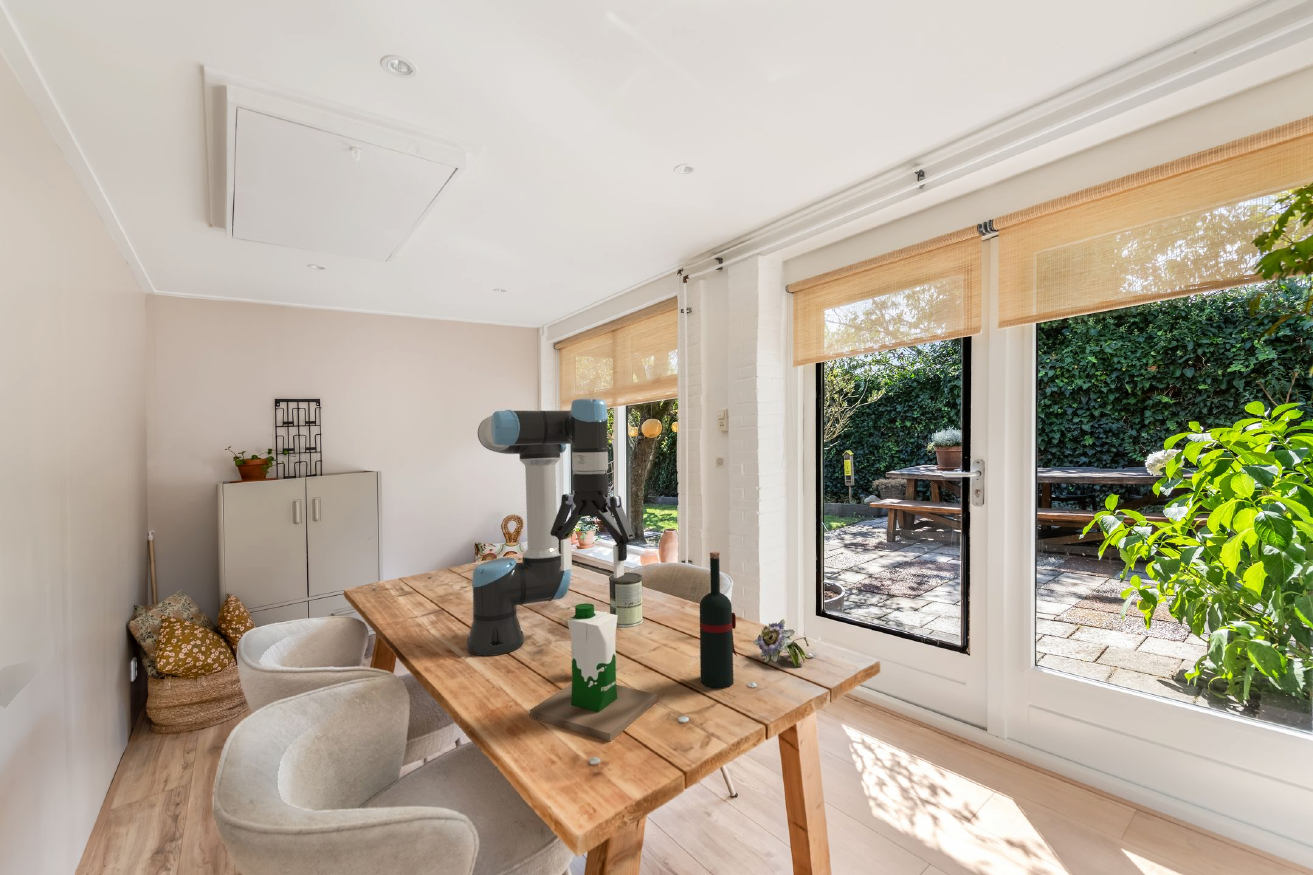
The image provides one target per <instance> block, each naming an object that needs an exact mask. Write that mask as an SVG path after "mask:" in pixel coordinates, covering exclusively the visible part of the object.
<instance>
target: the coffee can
mask: <svg viewBox="0 0 1313 875" xmlns="http://www.w3.org/2000/svg"><path fill="white" fill-rule="evenodd" d="M642 579H643V575H642V574H640V573H636V572H624V575H623V576H620V577H618V578H614V573H613V574H611V575H609V577H608V580H609V583H608V584H609V614H614V615H618V617H617V625H616V628H632V627H637V626H640V625H642V624H643V622H644V618H643V580H642Z"/></svg>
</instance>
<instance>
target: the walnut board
mask: <svg viewBox="0 0 1313 875" xmlns="http://www.w3.org/2000/svg"><path fill="white" fill-rule="evenodd" d="M616 686H617V699H616V700H615V701H613V702H612V703H611V704H609V705H608V706H606V707H605V708H604V709H602V710H601V711H600V712H595V711H591V710H588V709H584V708H580V707H577V706H573V705H571V693H572V682H571V683H570V684H568V685H567V686H565V687H564V688H562V689H560V690H559V691H558V692H555V693H554V694H552V695H551V696H549V697H547V698H546V699H545V700H543V701H541V702H539V703H538V704H537V705H535V706H533V707H532V708H531V709H529V718H531V719H535V720H538V721H542V722H544V723H548V724H552V725H554V726H558V727H561V728H563V729H568V730H570V731H574V732H577V733H579V734H580V733H581V734H583V735H584V734H585V735H588V736H590V737H594V738H597V739H600V740H603V741H607V742H612V741H613V740H614V739H615V738H616V737H617V736H619V735H620V734H621V733H622V732H623V731H625V730H626V729H627V728H628V727H630V725H632V724H633V723H634V722H635V721H636V720H637V719H638V718H639V717H641V716H642V715H643V714H644V713H646V712H647V711H648V710H649V709H650V708H651V707H653V705H655V704H656V703H657V702H658V694H657V693H652V692H649V691H644V690H640V689H636V688H632V687H629V686H623V685H620V684H619V685H618V684H616Z"/></svg>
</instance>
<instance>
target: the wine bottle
mask: <svg viewBox="0 0 1313 875" xmlns="http://www.w3.org/2000/svg"><path fill="white" fill-rule="evenodd" d="M720 555H721V554H720V552H719V551H712V552H709V556H710V557H709V565H710V567H709V569H710V570H709V571H710V572H709V574H710V592H709V593H707V594H705V595H704V596H703V597H702V598H701V600H700V603H699V645H700V646H699V649H700V650H699V655H700V656H699V662H700V664H699V665H700V667H699V668H700V670H699V672H700V675H699V677H700V685H703V687H705V688H709V689H713V690H717V689H718V690H719V689H720V690H721V689H728V688H730V687H731V686H733V685H734V684H735V682H734V680H735V679H734V655H735V656H736V657H738V655H737V653H736V649H735V644H734V635H733V634H734V632H733V629H734V630H735V629H736V627H737V624H736V623H737V621H736V620H737V619H736V613H735V612H733V607H732V606H733V605H732V603H731V600H730V598H729V597H728V596H727V595H725V594H724V593H722V592H721V583H720V582H721V581H720V580H721V577H720V576H721V574H720V572H721V571H720Z"/></svg>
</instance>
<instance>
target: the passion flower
mask: <svg viewBox="0 0 1313 875" xmlns="http://www.w3.org/2000/svg"><path fill="white" fill-rule="evenodd" d="M785 626H786V620H785V618H783V619H781V620H780V621H779V622H771V623H768V626H767V625H765V626H764V627H763V629H761V633H760V634H758V636H757V638H756V639H754V640H753V641H752V643H753V644H754V645H756V646H758V647H759V649H760V650H761V652H760V657H762V658H764V657H765V659H764V663H765V664H768V663H769V662H771V661H773V662H774V663H777V662H778V661H779V659H780V657H781V656H780V654H781V652H782V653H785V654H788V655H789V656H790V657H791V660H792V664H794V666H795V667H796V668H800V660H801V659H802V661H803V663H805V660H806V653H805V651H804V649H803V648H802V647H801V646H800V645H798V644H797V642H796V641H799V640H802V639H803V640H804V642H805V644H806V646H807V647H809V646H810V644H809V640H808V639H807V636H804V637H800V638H797V639H792V638H791V636H793V635H795V632H796V630H795V629H791V628H789V629H785ZM800 657H801V659H800Z"/></svg>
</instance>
